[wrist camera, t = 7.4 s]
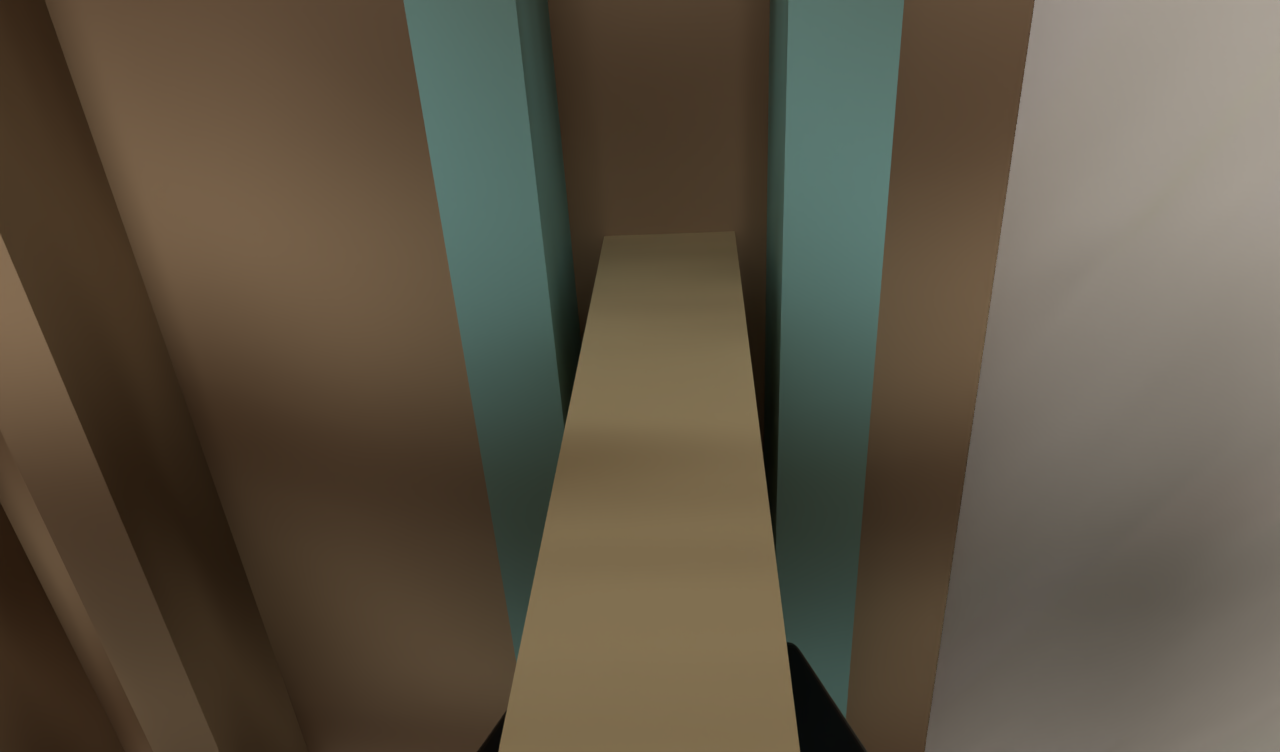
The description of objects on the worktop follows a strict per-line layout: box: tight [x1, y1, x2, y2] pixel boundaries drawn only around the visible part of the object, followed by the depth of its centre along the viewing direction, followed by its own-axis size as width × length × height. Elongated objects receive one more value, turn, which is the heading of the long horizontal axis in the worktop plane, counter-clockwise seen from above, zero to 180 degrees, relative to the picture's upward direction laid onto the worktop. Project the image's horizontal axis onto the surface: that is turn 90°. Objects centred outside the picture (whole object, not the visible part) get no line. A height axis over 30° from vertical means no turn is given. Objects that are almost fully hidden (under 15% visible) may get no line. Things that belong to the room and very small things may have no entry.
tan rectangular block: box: [498, 231, 800, 752], centre depth 9 cm, size 5×2×9 cm, turn 3°
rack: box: [0, 0, 1035, 752], centre depth 13 cm, size 20×24×3 cm
